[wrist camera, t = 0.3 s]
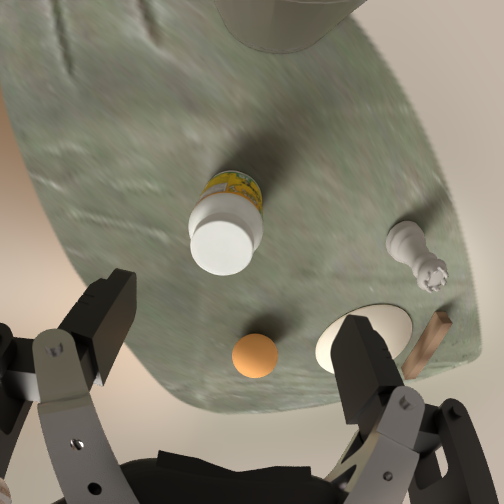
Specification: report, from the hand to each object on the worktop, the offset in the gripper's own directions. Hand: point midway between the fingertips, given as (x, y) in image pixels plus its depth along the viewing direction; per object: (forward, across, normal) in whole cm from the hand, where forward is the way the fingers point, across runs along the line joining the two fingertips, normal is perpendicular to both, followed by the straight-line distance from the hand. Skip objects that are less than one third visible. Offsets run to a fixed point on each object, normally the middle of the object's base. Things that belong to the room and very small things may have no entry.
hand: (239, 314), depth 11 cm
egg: (+16, -5, +19) cm, 25 cm away
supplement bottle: (+18, +1, +1) cm, 18 cm away
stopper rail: (+18, -30, +16) cm, 38 cm away
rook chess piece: (+18, -17, +1) cm, 25 cm away
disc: (+18, -20, +17) cm, 32 cm away
